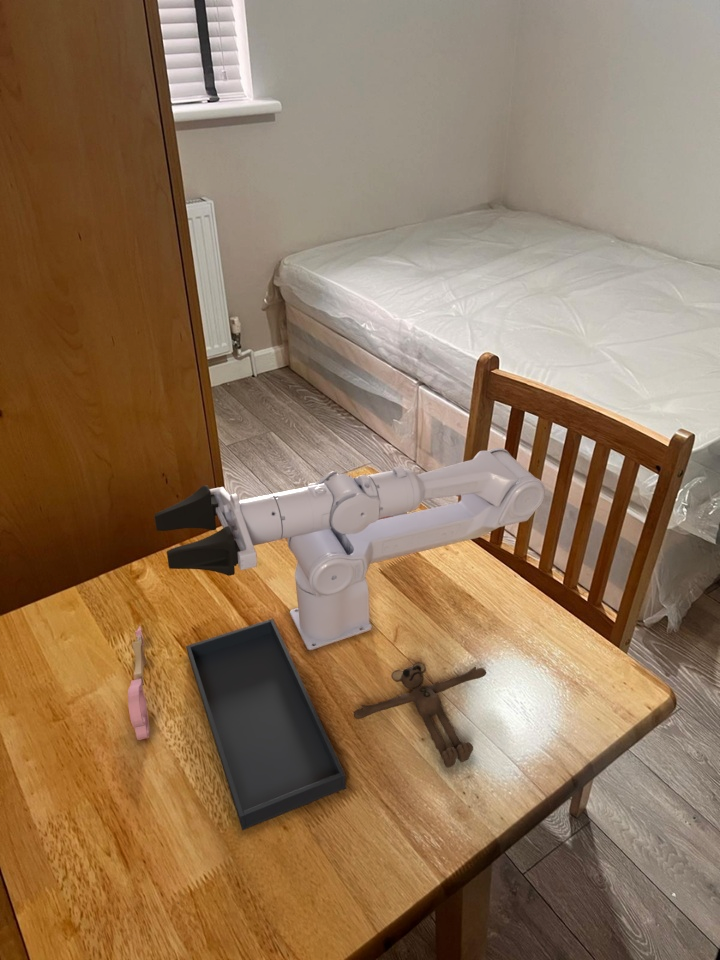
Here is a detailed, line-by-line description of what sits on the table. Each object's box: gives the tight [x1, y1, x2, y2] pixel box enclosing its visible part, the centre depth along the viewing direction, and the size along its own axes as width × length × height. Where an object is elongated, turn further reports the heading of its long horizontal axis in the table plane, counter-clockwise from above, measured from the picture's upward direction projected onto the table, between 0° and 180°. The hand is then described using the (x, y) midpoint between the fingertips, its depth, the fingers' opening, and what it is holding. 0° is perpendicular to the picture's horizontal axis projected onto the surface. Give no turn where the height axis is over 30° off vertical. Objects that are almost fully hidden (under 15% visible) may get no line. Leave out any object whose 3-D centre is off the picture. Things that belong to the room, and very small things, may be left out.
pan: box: [185, 618, 347, 831], centre depth 89 cm, size 12×26×3 cm, turn 23°
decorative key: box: [127, 625, 150, 741], centre depth 93 cm, size 7×1×20 cm
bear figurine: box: [352, 661, 487, 768], centre depth 88 cm, size 18×4×14 cm
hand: (161, 540), depth 84 cm, fingers open, 7 cm apart
